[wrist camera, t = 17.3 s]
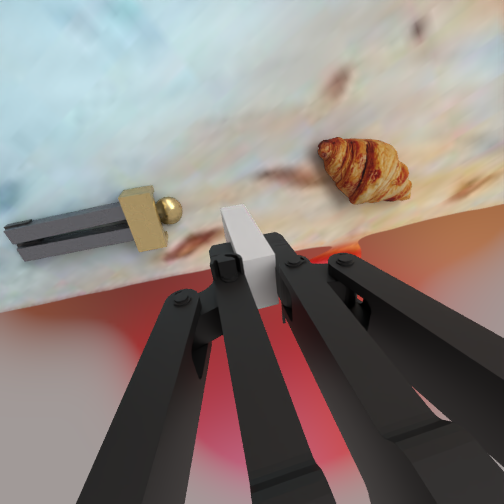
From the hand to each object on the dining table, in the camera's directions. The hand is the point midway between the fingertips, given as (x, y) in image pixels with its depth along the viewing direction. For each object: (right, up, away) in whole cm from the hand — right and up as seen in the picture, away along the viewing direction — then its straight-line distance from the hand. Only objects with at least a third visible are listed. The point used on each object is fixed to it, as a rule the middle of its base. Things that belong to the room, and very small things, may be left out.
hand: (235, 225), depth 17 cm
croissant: (+20, +12, +28) cm, 36 cm away
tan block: (-15, +4, +22) cm, 27 cm away
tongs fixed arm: (-21, +2, +22) cm, 30 cm away
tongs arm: (-23, +3, +20) cm, 31 cm away
